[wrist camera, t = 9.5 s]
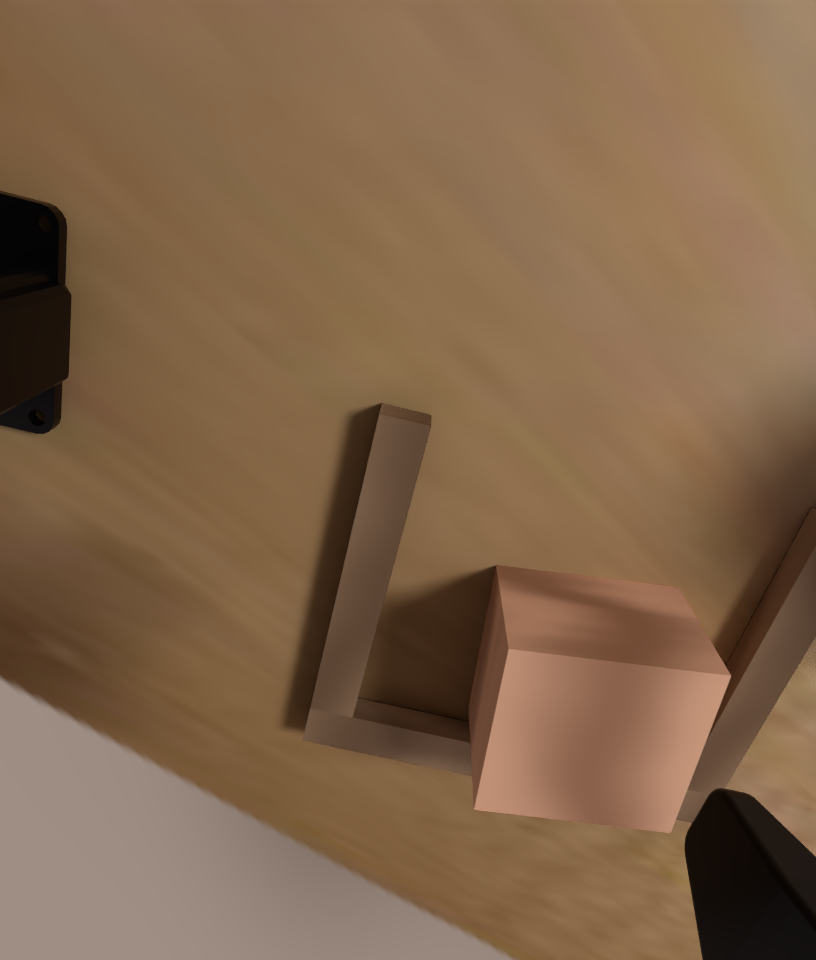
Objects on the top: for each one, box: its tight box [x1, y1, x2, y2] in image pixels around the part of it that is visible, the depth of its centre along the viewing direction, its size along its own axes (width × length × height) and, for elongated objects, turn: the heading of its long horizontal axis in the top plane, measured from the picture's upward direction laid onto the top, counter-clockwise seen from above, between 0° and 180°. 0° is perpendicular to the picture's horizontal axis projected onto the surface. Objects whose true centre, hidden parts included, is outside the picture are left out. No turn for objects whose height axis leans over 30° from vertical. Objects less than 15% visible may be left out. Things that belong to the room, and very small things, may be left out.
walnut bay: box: [303, 403, 816, 823], centre depth 22 cm, size 15×12×1 cm
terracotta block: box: [468, 565, 731, 833], centre depth 21 cm, size 6×6×4 cm
